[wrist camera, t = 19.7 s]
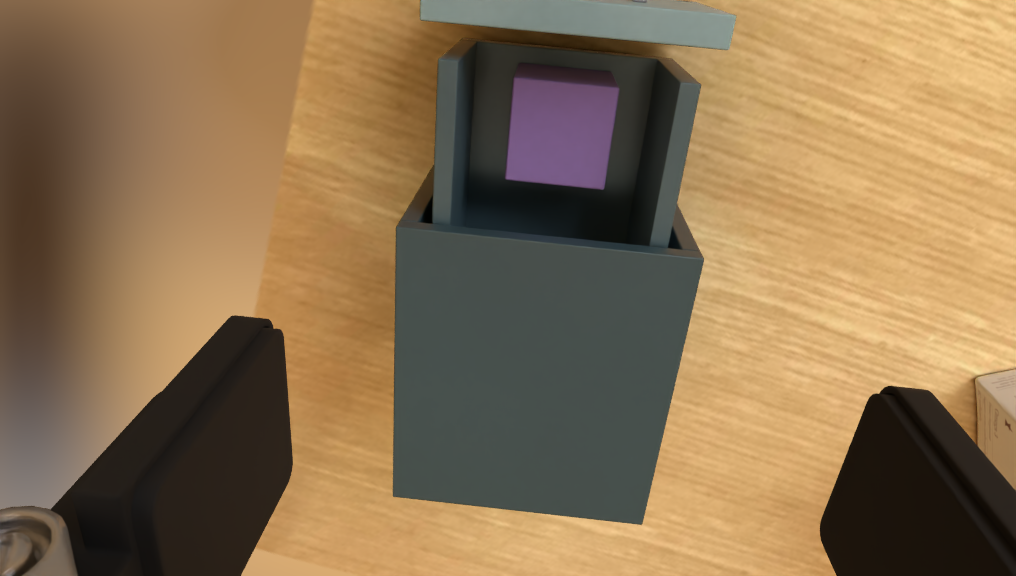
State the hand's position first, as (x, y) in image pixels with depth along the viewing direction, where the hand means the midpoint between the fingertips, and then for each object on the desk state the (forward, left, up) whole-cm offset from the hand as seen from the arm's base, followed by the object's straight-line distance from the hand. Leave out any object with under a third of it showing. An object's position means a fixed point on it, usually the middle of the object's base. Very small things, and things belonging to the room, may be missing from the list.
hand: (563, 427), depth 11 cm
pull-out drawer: (0, +1, -25) cm, 25 cm away
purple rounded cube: (0, 0, -24) cm, 24 cm away
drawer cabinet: (+4, -10, -26) cm, 28 cm away
